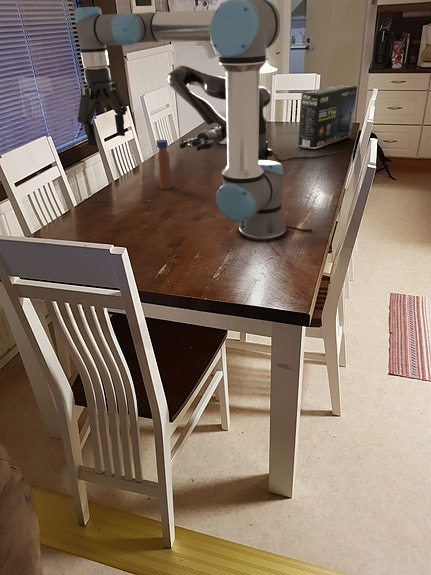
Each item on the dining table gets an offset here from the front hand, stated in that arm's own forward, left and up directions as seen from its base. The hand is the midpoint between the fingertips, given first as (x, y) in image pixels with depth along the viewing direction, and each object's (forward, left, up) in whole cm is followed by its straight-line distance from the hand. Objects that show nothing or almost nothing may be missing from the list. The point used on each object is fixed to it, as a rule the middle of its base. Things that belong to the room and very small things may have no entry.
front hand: (107, 140), depth 148 cm
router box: (-31, -132, -28) cm, 138 cm away
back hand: (+7, -58, -16) cm, 61 cm away
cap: (+6, -37, -9) cm, 38 cm away
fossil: (+19, -113, -28) cm, 118 cm away
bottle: (+6, -37, -28) cm, 47 cm away
